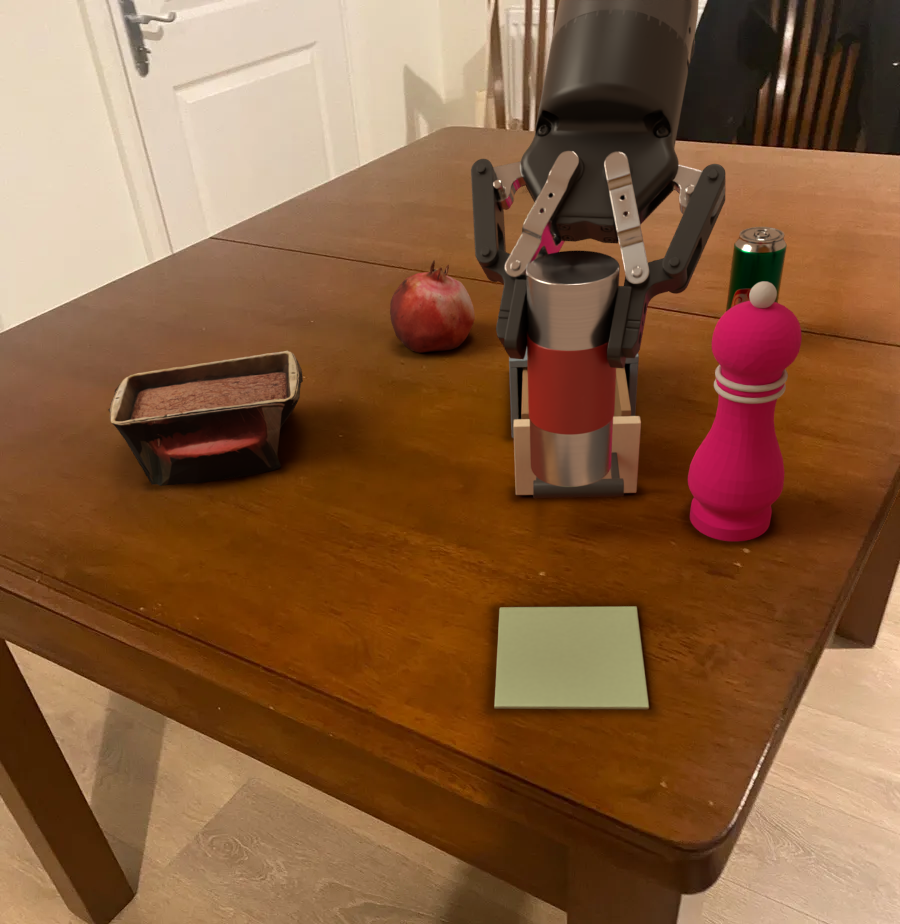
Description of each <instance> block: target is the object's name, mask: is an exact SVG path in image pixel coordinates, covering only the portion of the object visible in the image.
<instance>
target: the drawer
mask: <svg viewBox="0 0 900 924" xmlns="http://www.w3.org/2000/svg"><path fill="white" fill-rule="evenodd" d="M521 417H522V419H515V420H514V438H513V448H514V449H513V453H514V455H513V456H514V480H515V481H514V483H515V495H516V496H533V497H532V498H533V499H559V498H562V499H563V498H564V499H565V498H604V497H605V498H606V497H607V498H608V497H612V498H613V497H614V498H615V497H624V494H636V493H637V490H638V473H639V459H640V446H641V445H640V444H641V429H642V420H641V416H640V415H635V416H631V406H630V400H629V393H628V387H627V380H626V374H625V367H624V368H616V386H615V409H614V417H613V434H612V457H611V468H610V470H609V472H608V474H607V475H606V476H605V477H604V478H602V479H601V480H599V481H597V482H594V483H592V484H588V485H584V486H578V487H563V486H556V485H552V484H549V483H546V482H544V481H542V480H540V479H539V478H537V477H536V476H535V475H534V473H533V472H532V470H531V459H530V418H529V409H528V367H523V381H522V411H521Z"/></svg>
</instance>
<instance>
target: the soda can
mask: <svg viewBox="0 0 900 924" xmlns="http://www.w3.org/2000/svg"><path fill="white" fill-rule="evenodd" d="M785 235H786V234H785V232H784V231H783V230H781V229H780V228H779V229H778V228H775V227H771V226H770V227H769V226H754V227H753V226H751V227H747V228H745V229H742V230H741V231H739V233H738V238H737V239H736V240H735V242H734V243H733V248H732V258H731V265H730V274H729V280H728V281H729V282H728V290H727V297H726V298H727V300H726V305H725V306H726V307H725V312H726V311H728V310H729V309H730V308H732V307H734V306H735V305H738V304H740V303H742V302H746V301H750V298H749V294H750V291H751V289H752V287H753V286H754V285H755V284H757V283H759V282H762V281H765V282H769V283H772V284H773V285H774V287H775V288H776V291H777V296H776V299H775V301H774V302H776V303H779V298H780V291H781V285H782V280H783V279H782V278H783V273H784V272H783V271H784V266H785V259H786V253H787V248H788V247H787V246H788V245H787V241H786V239H785Z"/></svg>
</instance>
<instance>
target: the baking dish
mask: <svg viewBox="0 0 900 924" xmlns="http://www.w3.org/2000/svg"><path fill="white" fill-rule="evenodd" d="M303 378H304V377H303V370H302V367H301V365H300V363H299V361H298V359H297V357H296V355H295V353H294V352H291V351H290V350H283V351H279V352H278V351H277V352H270V353H262V354H256V355H255V354H254V355H250V356H244V357H237V358H230V359H223V360H216V361H211V362H203V363H196V364H190V365H184V366H175V367H169V368H163V369H162V368H161V369H156V370H151V371H143V372H138V373H134V374H129V376H126V377H124V379H122V381H120V383H118V384H117V387H116V388H115V389H114V394H113V398H112V399H111V402H110V407H109V408H108V409H107V411H108V412H109V421H110V423H111V424H112V425H113V426H114V427H115V428H116V430H117V431H118V433H119V434H120V435H121V436H122V438H123V439H124V441H125V443H126V444H127V445H128V447H129V449H130V450H131V453H132V454H133V456H134V457H135V459H136V460H137V462H138V464H139V466H140V467H141V469H142V471H143V472H144V474H145V476H146V478H147V479H148V481H149V482H150V484H151V486H153V485H158V486H159V487H161V486H174V485H188V484H202V483H207V482H208V483H209V482H214V481H220V480H227V479H234V478H242V477H247V476H252V475H253V476H254V475H259V474H264V473H269V472H274V471H275V470H279V469H280V468H281V461H280V460H279V456H278V451H279V445H280V443H279V442H280V434H281V433H280V432H281V429H282V427H283V425H285V423H286V422H287V420H288V419H289V418H290V416H291V415H292V414H293V412H294V410H295V408H296V406H297V404H298V401H299V399H300V398H301V386H302V383H303V382H304V380H303Z"/></svg>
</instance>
